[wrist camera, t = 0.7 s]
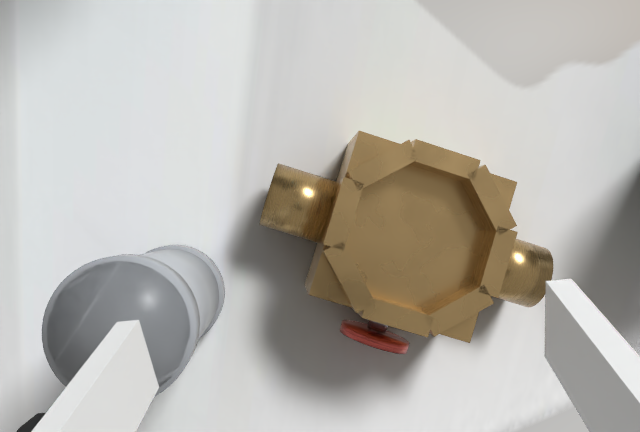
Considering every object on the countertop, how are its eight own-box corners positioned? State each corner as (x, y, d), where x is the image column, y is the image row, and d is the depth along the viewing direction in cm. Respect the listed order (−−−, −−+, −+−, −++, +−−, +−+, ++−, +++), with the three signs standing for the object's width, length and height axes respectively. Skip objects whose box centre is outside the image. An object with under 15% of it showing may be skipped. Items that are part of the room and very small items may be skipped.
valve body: (292, 123, 35) (295, 99, 28) (537, 202, 36) (594, 197, 29) (238, 294, 34) (229, 311, 28) (489, 368, 35) (535, 401, 29)
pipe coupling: (143, 232, 34) (69, 237, 22) (236, 260, 34) (214, 280, 22) (113, 326, 34) (21, 382, 22) (207, 353, 34) (169, 423, 22)
